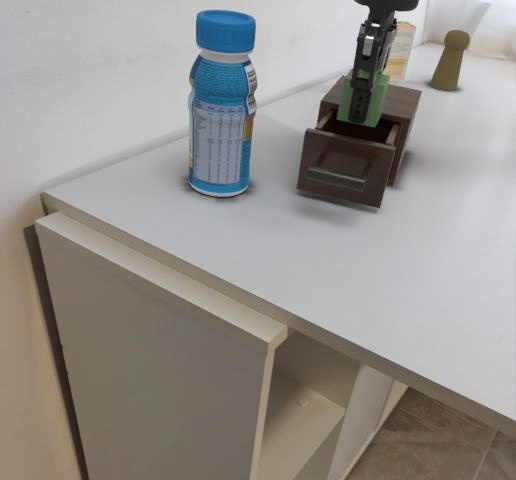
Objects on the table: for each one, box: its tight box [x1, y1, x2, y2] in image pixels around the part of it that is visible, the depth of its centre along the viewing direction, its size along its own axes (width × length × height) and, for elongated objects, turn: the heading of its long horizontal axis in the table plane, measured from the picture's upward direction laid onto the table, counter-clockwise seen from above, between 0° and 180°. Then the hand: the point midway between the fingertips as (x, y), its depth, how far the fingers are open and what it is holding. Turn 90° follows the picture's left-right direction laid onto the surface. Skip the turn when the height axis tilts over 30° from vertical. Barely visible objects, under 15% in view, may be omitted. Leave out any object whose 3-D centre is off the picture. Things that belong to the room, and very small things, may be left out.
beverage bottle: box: [187, 9, 258, 198], centre depth 66 cm, size 8×8×20 cm
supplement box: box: [383, 20, 417, 87], centre depth 107 cm, size 8×5×13 cm, turn 100°
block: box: [337, 67, 391, 128], centre depth 68 cm, size 5×5×5 cm
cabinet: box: [316, 74, 423, 187], centre depth 81 cm, size 15×13×10 cm
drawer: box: [296, 108, 401, 209], centre depth 71 cm, size 19×11×8 cm, turn 161°
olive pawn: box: [429, 29, 471, 92], centre depth 117 cm, size 6×6×11 cm
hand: (360, 114), depth 69 cm, fingers closed on block, 5 cm apart
